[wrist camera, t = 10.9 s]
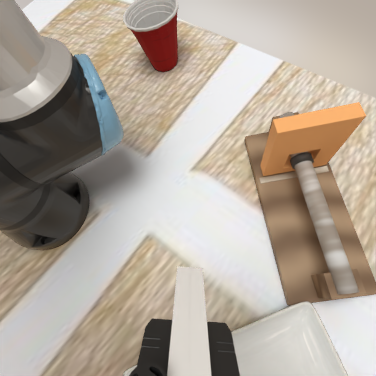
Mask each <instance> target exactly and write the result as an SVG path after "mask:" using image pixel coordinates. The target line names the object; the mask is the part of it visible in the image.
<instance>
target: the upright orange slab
mask: <svg viewBox="0 0 376 376" xmlns="http://www.w3.org/2000/svg"><path fill="white" fill-rule="evenodd" d="M365 117H366V115H365V113H364V111H363V109H362V107H361V105H360V103H359V102H358V103H353V104H348V105H343V106H338V107H333V108H328V109H323V110H318V111H313V112H308V113H303V114H298V115H293V116H288V117H283V118H278V119H273V121H272V125H271V129H270V132H269V136H268V139H267V143H266V147H265V150H264V154H263V158H262V161H261V165H260V166H261V170H262V174H263V176H267V175H273V174H278V173H284V172H290V171H295V169H293V168H292V166H291V163H290V159H291V156H290V155H291V154H296V153H301V152H307V151H308V152H309V153H311V155H312V157H313V160H314V163H313V167H317V166H323V165H326V164H327V163H328V162H329V161H330V159H331V158H332V157H333V156H334V154H335V153H336V152H337V151H338V150H339V148H340V147H341V146H342V145H343V144H344V142H345V141H346V140H347V139H348V137H349V136H350V135H351V134H352V133H353V131H354V130H355V129H356V128H357V127H358V125H359V124H360V123H361V122H362V120H363V119H364V118H365Z"/></svg>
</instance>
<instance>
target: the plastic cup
mask: <svg viewBox="0 0 376 376" xmlns="http://www.w3.org/2000/svg"><path fill="white" fill-rule="evenodd" d="M177 10H178V1H177V0H136V1H134V2H133V3H132V4H131V5H130V6H129V7H128V8H127V9H126V11H125V13H124V15H123V22H124V23H125V25H126V26H127V27H128V28H129V29H130V30H131V31H132V32H133V34H134V35H135V37H136V38H137V40H138V42H139V43H140V45H141V47H142V49H143V50H144V52H145V54H146V56H147V57H148V58H149V60H150V62H151V64H152V65H153V67H154V68H155V69H156V70H158V71H161V72H165V71H169V70H171V69H173V68H174V67H175V66H176V64H177V59H178V56H177V49H178V45H177Z"/></svg>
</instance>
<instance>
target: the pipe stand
mask: <svg viewBox="0 0 376 376" xmlns="http://www.w3.org/2000/svg"><path fill="white" fill-rule="evenodd" d="M298 114H299V113H298V112H297V113H292V112H288V113H285V114H283V115H281V116H277V117H273V118H272V121H273V119H278V118H283V117H288V116H293V115H298ZM271 125H272V122H271ZM270 129H271V126H270ZM270 129H269V132H270ZM269 132H267V133H261V134H256V135H251V136H246V137H245V144H246V148H247V152H248V156H249V160H250V164H251V168H252V171H253V175H254V179H255V183H256V187H257V191H258V194H259V198H260V202H261V206H262V210H263V214H264V218H265V221H266V225H267V229H268V233H269V237H270V241H271V245H272V248H273V252H274V256H275V260H276V264H277V268H278V272H279V275H280V279H281V283H282V287H283V291H284V295H285V298H286V302H287V305H289V306H291V305H295V304H298V303H301V302H306V301H307V302H310V303H313V302H321V301H328V300H336V299H343V298H351V297H358V296H366V295H373V294H376V282H375V279H374V277H373V274H372V271H371V269H370V266H369V264H368V261H367V259H366V256H365V254H364V251H363V249H362V246H361V244H360V241H359V239H358V236H357V234H356V231H355V229H354V226H353V224H352V221H351V219H350V216H349V213H348V211H347V208H346V206H345V203H344V201H343V198H342V196H341V193H340V191H339V188H338V186H337V183H336V181H335V178H334V176H333V173H332V171H331V168H330V166H329V163H327V164H326V165H323V166H317V167H313V163H314V160H313V157H312V155H311V153H309V152H308V151H307V152H301V153H296V154H291V155H290V156H291V159H290V163H291V166H292V168H293V169H295V171H290V172H284V173H278V174H273V175H267V176H263V174H262V170H261V166H260V165H261V161H262V158H263V154H264V150H265V147H266V143H267V139H268V136H269Z"/></svg>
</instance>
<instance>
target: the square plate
mask: <svg viewBox="0 0 376 376" xmlns="http://www.w3.org/2000/svg"><path fill="white" fill-rule="evenodd" d="M232 337H233V344H234V348H235V353H236V358H237V363H238V368H239V373H240V376H348V374H347V372H346V370H345V368H344V366H343V364H342V362H341V360H340V358H339V356H338V353H337V352H336V350H335V348H334V346H333V343H332V341H331V339H330V337H329V335H328V333H327V331H326V329H325V327H324V325H323V323H322V321H321V319H320V317H319V315H318V313H317V312H316V310H315V308H314V307H313V305H312V304H311V303H310V302H307V301H306V302H301V303H298V304H295V305H292V306H290V307H287V308H285V309H282V310H280V311H278V312H276V313H273V314H271V315H269V316H267V317H264V318H262V319H260V320H258V321H255V322H253V323H251V324H249V325H246V326H244V327H241V328H239V329H237V330H234V331H232ZM136 367H137V365H135V366H133V367H131V368H129V369H127V370H126V371H125V372H124V374H123V376H129V375H130V373H131V372H132V371H133V370H134V369H135V368H136Z"/></svg>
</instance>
